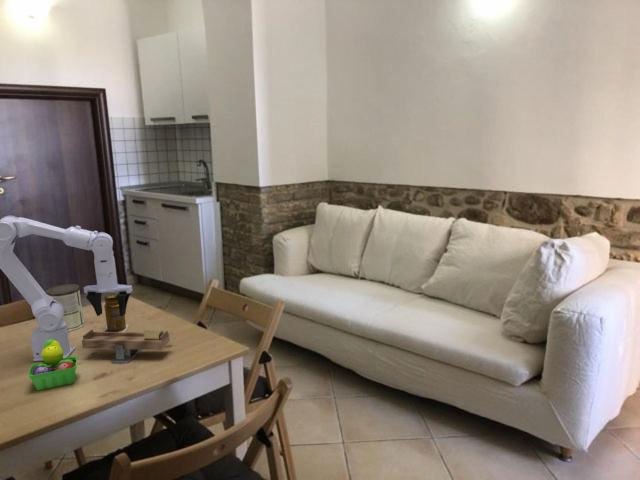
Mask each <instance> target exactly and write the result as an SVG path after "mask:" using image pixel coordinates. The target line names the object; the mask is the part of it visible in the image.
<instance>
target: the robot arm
mask: <svg viewBox="0 0 640 480" xmlns="http://www.w3.org/2000/svg"><path fill="white" fill-rule="evenodd" d="M30 235H35V236H41V237H44V238H45V237H46V238H51V239H57V240H61V241H63V243H64V244H65V245H66V246H68V247H74V248H78V249H80V250H81V249H82V250H86V251H92V252H93V256H94V259H93V262H94V269H95V270H94V271H95V278H96V284H94V285H93V284H92V285H85V286H84V287H83V292H84V294H86V296H85V298H86V300H87V301H88V302H89V303H90V304H91V306H92V307H93V309H94V312H95V315H96V316H97V317H100V316H102V314H103V305H102V293H103V294H105V293H107V294H108V293H109V294H118V295H116V299H117V301H118V304H119V311H120V316H123V315H125V316H126V313H127V311H126V310H127V307H128V302H129V298H130V296H131V294H132V292H133V285H127V284H120V283H118V276H117V268H116V259H115V256H114V250H113V245H114V240H113V237H112V236H111V235H110V234H108V233H106V232H104V231H101V232H98V230H94V231H92V230H88V229H84V228H82V227H81V226H79V225H75V226H70V227H68V228H61V227H58V226H55V225H51V224H48V223H44V222H41V221H38V220H33V219H30V218H26V217H17V216H15V215H6V216H3V217H2V218H1V219H0V270H1V271H2V272H3V273H4V275H5V276H6V277H7V278H8V279H9V281H10V282H11V283H12V285H13V286H14V287H15V289H17V291H18V292H19V293H20V295H21V296H22V297H23V298H24V300H26V302H27V303H28V304H29V306H30V307H31V308H30V309H31V312H32V315H33V316H34V317H35V320H36V325H37V326H38V327H36V328H34V329H33V330H32V332H31V335H30V336H31V337H30V342H31V348H32V354H33V355H32V357H33V359H32V361H33V362H39V361H40V362H41V361H42V362H44V361H43V358H42V356H41V353H42V351H43V349H44V345H45V342H46V341H47V340H51V339H54V340H55V341H57V342H59V343H60V347H61V348H62V350H63V358H67V357H70V355H71V354H72V353H73V352H74V350H75V349H76V346H71V345H70V342H69V341H70V340H69V333H68V332H69V331H67V325H66V322H65V321H64V320H63V319H62V318H63V317H64V315H65V308H64V306H63V305H62V304H60V303H58V302H56V301H55V300H54V299H53V298H52V297H51V296H49V295H47V293H46V291H44V289H43V288H42V287H41V285H40V284H39V282H38V281H36V279H35V278H34V276H33V275H32V274H31V273H30V272H29V270H28V268H26V266H25V265H24V264H23V262H22V261H21V260H20V259H19V258H18V256H17V255H16V254H15V252H14V247H15V244H16V241H17V239H18V238H23V237H27V236H30Z"/></svg>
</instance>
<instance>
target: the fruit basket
mask: <svg viewBox="0 0 640 480" xmlns="http://www.w3.org/2000/svg"><path fill="white" fill-rule="evenodd" d="M41 356H42V358H43V361H42V362H41V361H40V362H37V363H34V364H31V366H30V369H29V372H28V375H27V376H28V377H29V379H31V382H32V383H33V385H34V387H35V389H36V390H37V391H40V390H41V391H42V390H45V389H51V388H55V387H60V386H65V385H70V384H74V383H75V379H76V370H77V365H78V356H75V355H74V356H68V357H67V358H63V350H62V348H61V347H60V343H59V342H57V341H55V340H54V339H51V340H47V341H46V342H45V345H44V349H43V351H42V353H41Z"/></svg>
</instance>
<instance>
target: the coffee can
mask: <svg viewBox="0 0 640 480" xmlns="http://www.w3.org/2000/svg"><path fill="white" fill-rule="evenodd" d="M45 293H46V294H47V295H49V296H51V297H52V298H53V299H54V300H55V301H56V302H58V303H60V304H62V305H63V306H64V308H65V315H64V317H63V318H62V319H63V320H64V321H65V322H66V325H67V332H71V331H74V330H77V329H81V328H82V327H84V326H85V321H84V312H83V307H82V306H83V305H82V298H81V292H80V285H79V284H76V283H67V284H58V285H55V286H52V287H50V288H48V289H46V291H45Z"/></svg>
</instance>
